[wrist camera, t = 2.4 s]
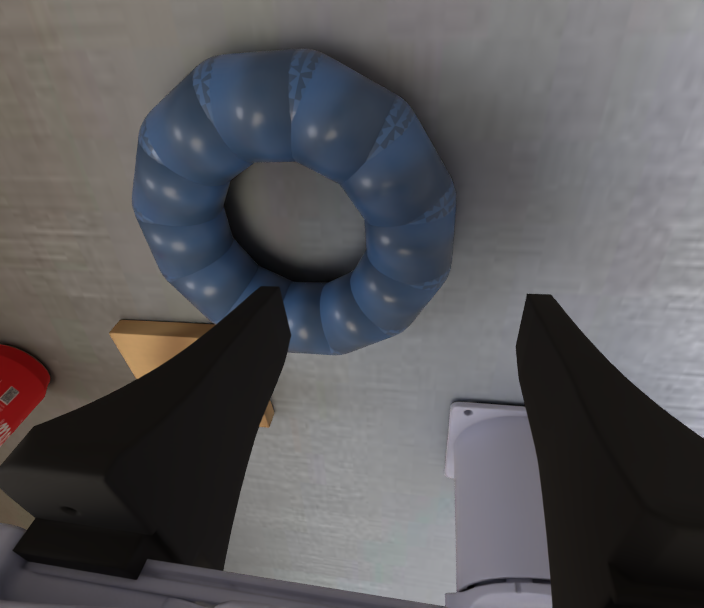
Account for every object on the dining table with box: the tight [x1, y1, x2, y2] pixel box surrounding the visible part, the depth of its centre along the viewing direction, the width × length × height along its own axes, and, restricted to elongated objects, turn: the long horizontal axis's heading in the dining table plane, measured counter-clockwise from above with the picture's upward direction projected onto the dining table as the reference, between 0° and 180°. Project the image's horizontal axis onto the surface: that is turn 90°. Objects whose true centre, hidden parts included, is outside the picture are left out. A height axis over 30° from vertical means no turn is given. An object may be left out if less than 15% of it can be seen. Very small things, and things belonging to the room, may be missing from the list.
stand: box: [109, 320, 274, 428], centre depth 24 cm, size 8×8×7 cm
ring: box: [132, 49, 456, 355], centre depth 17 cm, size 13×13×3 cm
